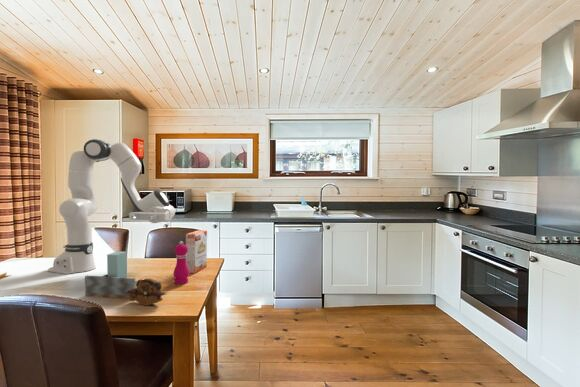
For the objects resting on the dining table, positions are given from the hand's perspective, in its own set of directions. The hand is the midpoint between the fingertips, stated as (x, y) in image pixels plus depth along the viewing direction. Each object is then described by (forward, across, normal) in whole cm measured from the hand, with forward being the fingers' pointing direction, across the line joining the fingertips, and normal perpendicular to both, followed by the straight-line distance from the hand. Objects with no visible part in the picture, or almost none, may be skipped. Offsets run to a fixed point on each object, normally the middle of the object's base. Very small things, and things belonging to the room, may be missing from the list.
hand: (140, 217), depth 165 cm
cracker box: (-17, +22, +30) cm, 41 cm away
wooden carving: (+33, +23, +30) cm, 50 cm away
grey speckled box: (+20, +4, +30) cm, 36 cm away
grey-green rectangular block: (+24, +4, +28) cm, 37 cm away
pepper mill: (+5, +24, +30) cm, 39 cm away
